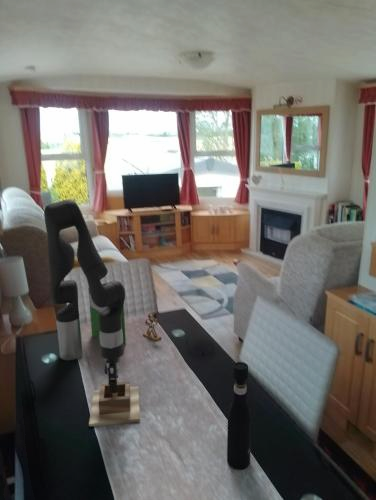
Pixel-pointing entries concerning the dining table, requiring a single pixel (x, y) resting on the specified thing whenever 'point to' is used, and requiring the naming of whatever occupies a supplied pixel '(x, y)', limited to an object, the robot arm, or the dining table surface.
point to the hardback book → (95, 314)
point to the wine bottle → (239, 421)
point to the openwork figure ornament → (148, 333)
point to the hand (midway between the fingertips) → (114, 384)
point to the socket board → (115, 405)
